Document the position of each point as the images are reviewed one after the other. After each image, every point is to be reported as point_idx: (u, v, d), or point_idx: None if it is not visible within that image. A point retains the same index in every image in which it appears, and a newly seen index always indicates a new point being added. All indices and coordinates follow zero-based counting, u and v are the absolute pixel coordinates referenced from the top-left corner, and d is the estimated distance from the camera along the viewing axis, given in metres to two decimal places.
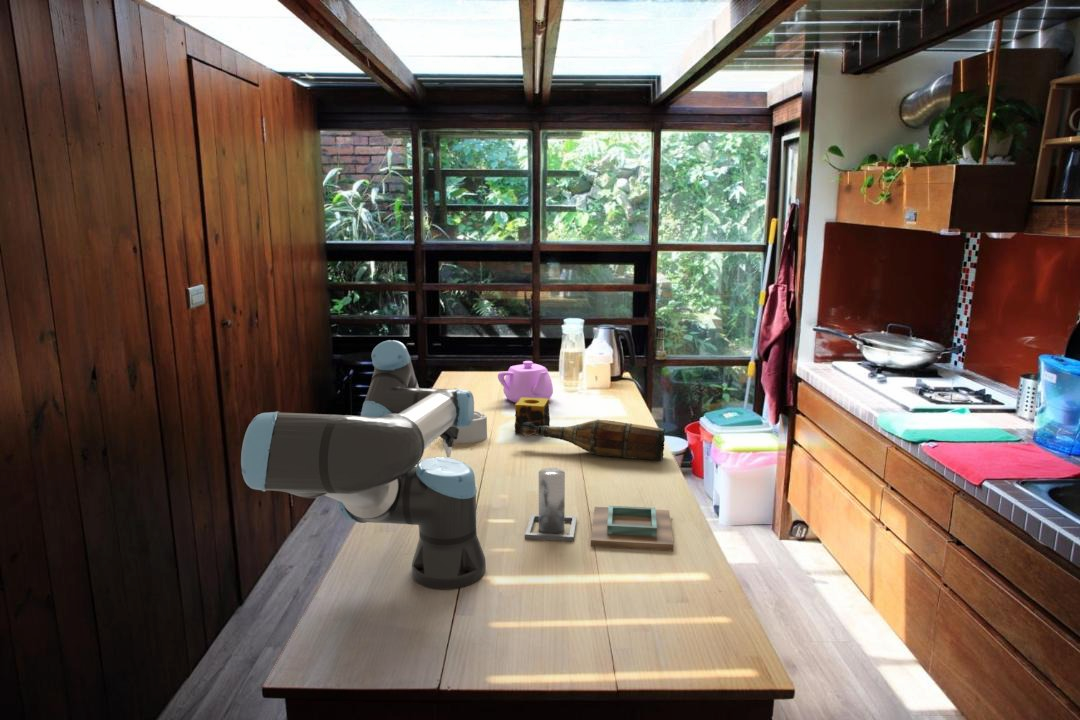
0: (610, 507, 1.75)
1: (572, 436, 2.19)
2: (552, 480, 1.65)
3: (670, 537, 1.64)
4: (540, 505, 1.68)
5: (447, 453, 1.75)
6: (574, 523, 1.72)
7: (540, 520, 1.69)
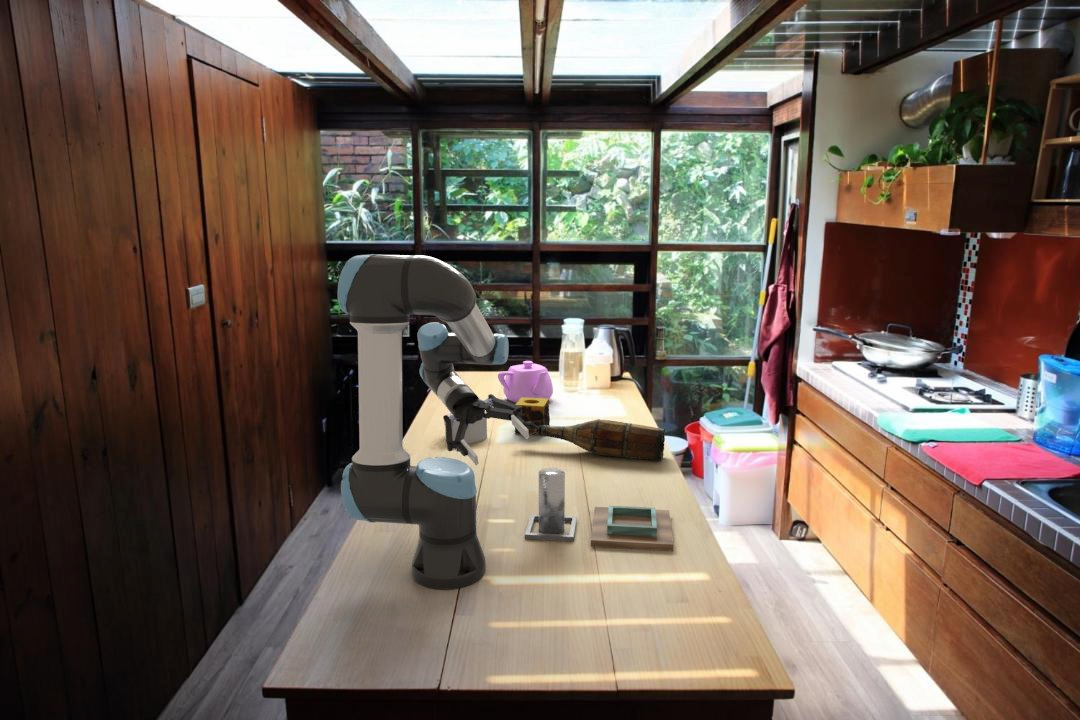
0: (610, 507, 1.75)
1: (572, 435, 2.20)
2: (552, 480, 1.65)
3: (670, 537, 1.64)
4: (540, 505, 1.68)
5: (523, 426, 1.71)
6: (574, 523, 1.72)
7: (540, 520, 1.69)
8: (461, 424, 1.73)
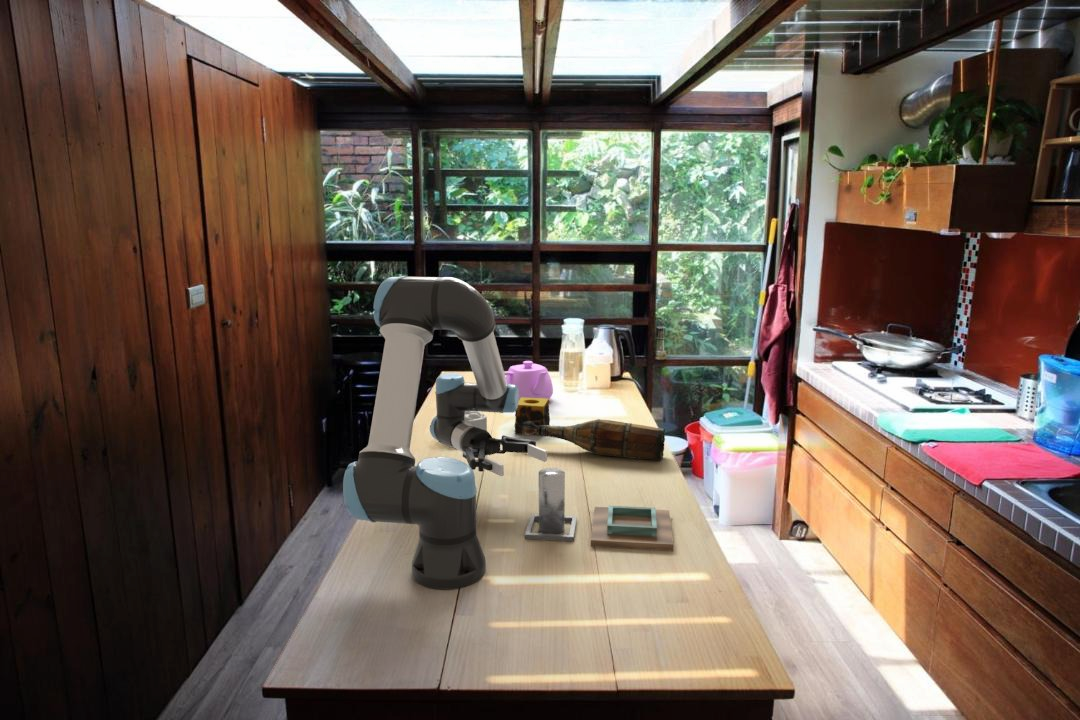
0: (610, 507, 1.75)
1: (572, 435, 2.20)
2: (552, 480, 1.65)
3: (670, 537, 1.64)
4: (540, 505, 1.68)
5: (541, 449, 1.81)
6: (574, 523, 1.72)
7: (540, 520, 1.69)
8: (481, 450, 1.81)
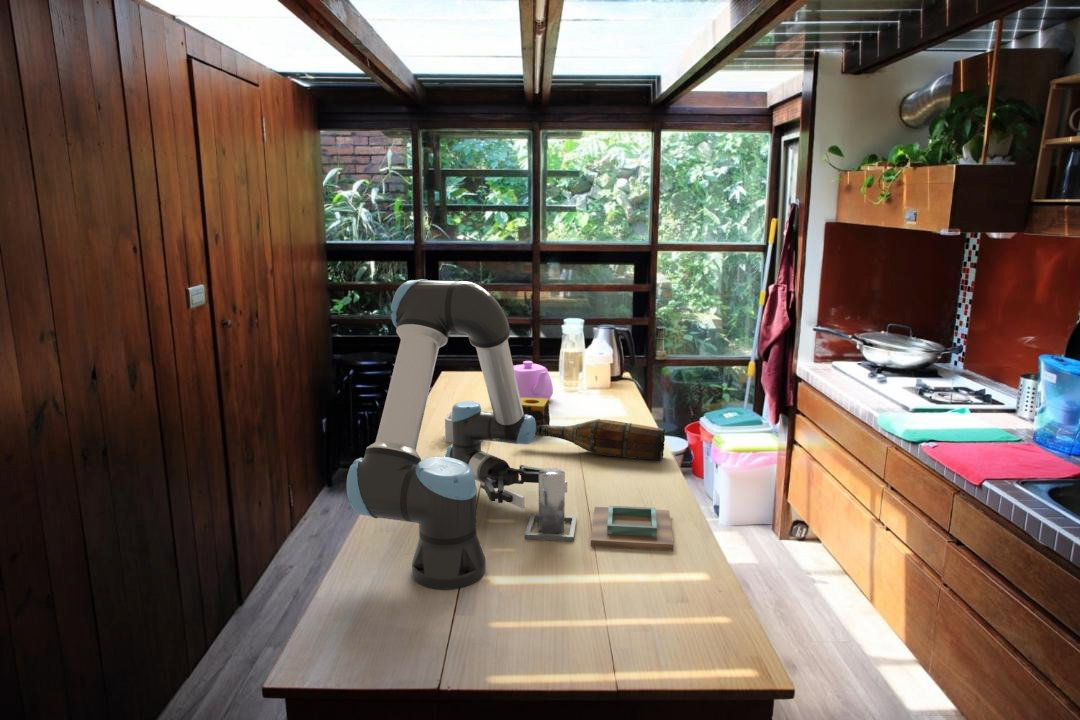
0: (610, 507, 1.75)
1: (572, 435, 2.20)
2: (552, 480, 1.65)
3: (670, 537, 1.64)
4: (540, 505, 1.68)
5: None
6: (574, 523, 1.72)
7: (540, 520, 1.69)
8: (500, 481, 1.77)
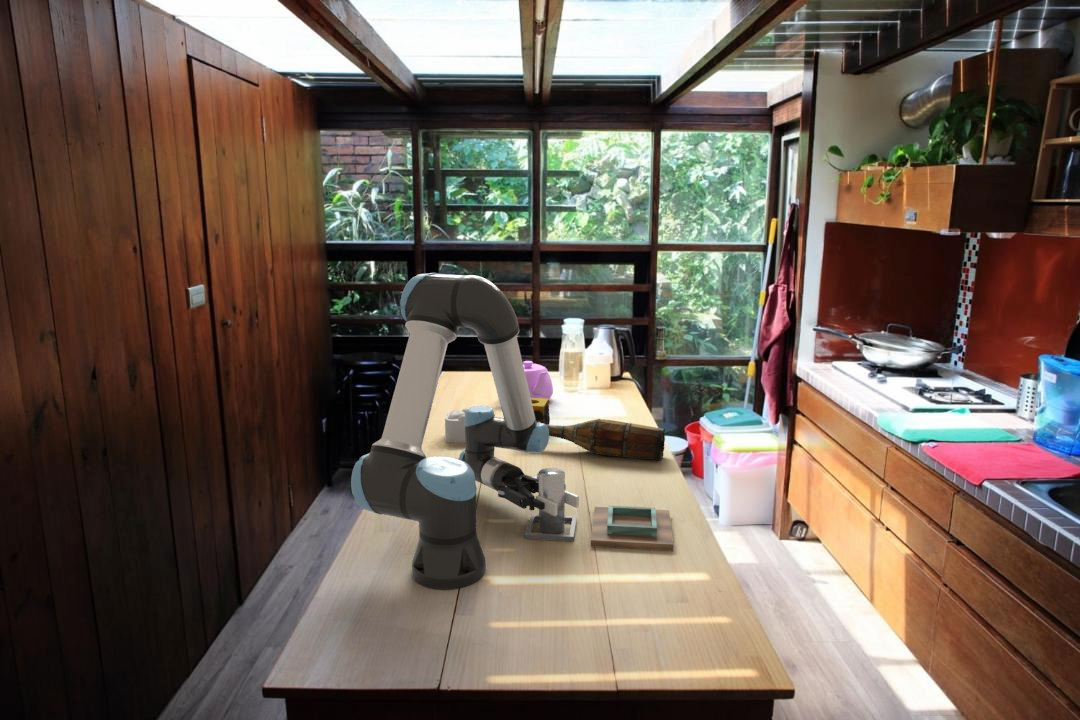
0: (610, 507, 1.75)
1: (572, 435, 2.20)
2: (552, 480, 1.65)
3: (670, 537, 1.64)
4: None
5: (572, 494, 1.69)
6: (574, 523, 1.72)
7: (540, 520, 1.69)
8: (522, 488, 1.73)
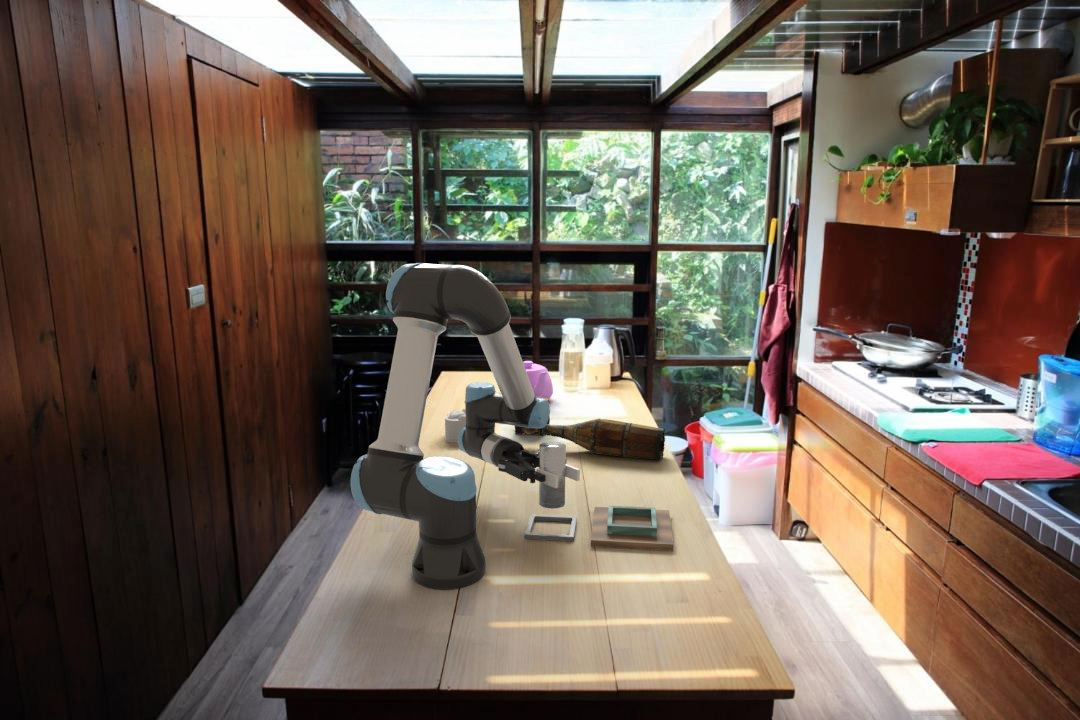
0: (610, 507, 1.75)
1: (572, 434, 2.20)
2: (553, 453, 1.64)
3: (670, 537, 1.64)
4: None
5: (573, 467, 1.68)
6: (574, 523, 1.72)
7: (541, 493, 1.68)
8: (523, 462, 1.72)
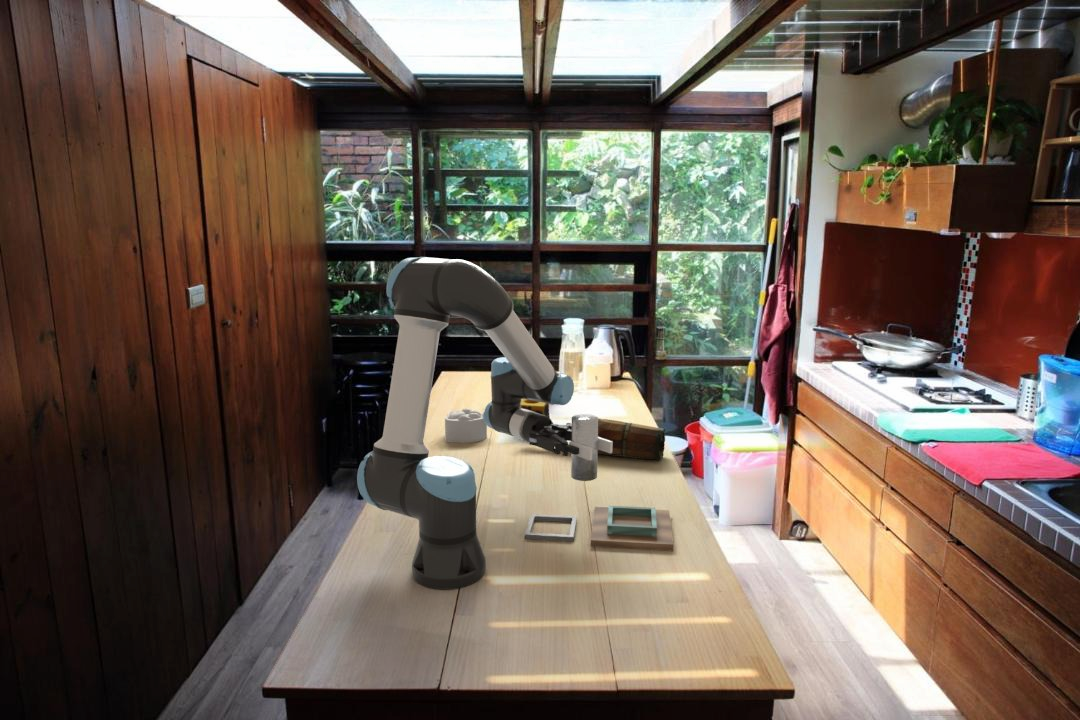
0: (610, 507, 1.75)
1: None
2: (586, 425, 1.64)
3: (670, 537, 1.64)
4: None
5: (606, 440, 1.68)
6: (574, 523, 1.72)
7: (573, 466, 1.68)
8: (554, 435, 1.71)
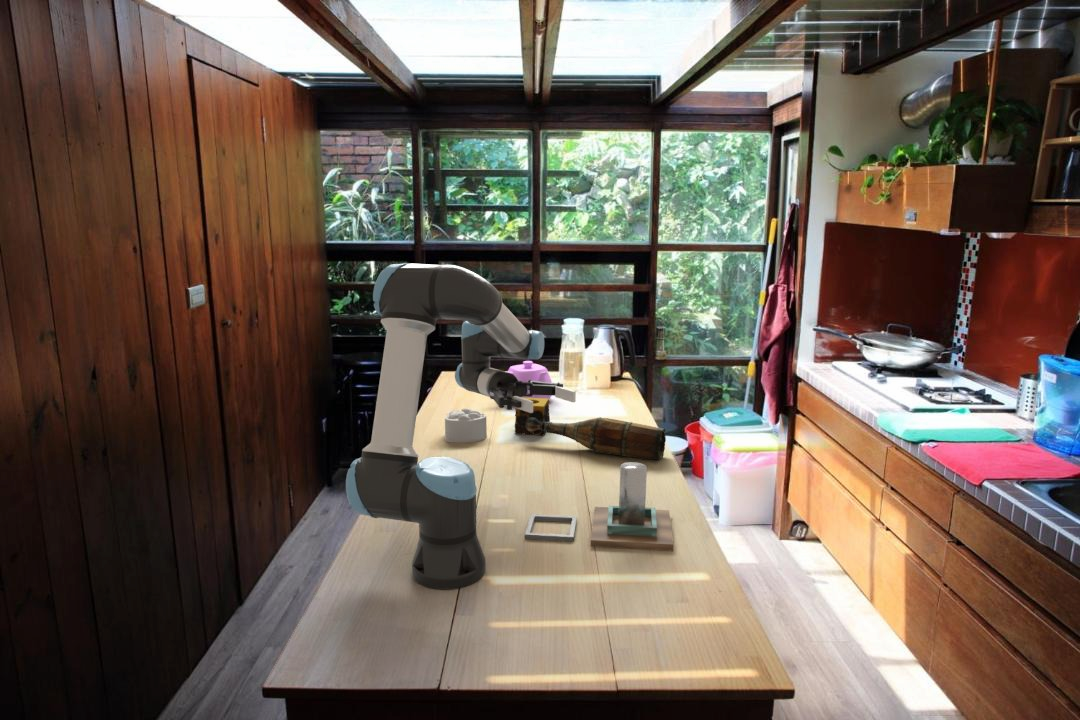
0: (610, 507, 1.75)
1: (573, 432, 2.22)
2: (635, 474, 1.65)
3: (670, 537, 1.64)
4: (622, 499, 1.67)
5: (570, 390, 1.80)
6: (574, 523, 1.72)
7: (621, 515, 1.68)
8: (509, 390, 1.80)
